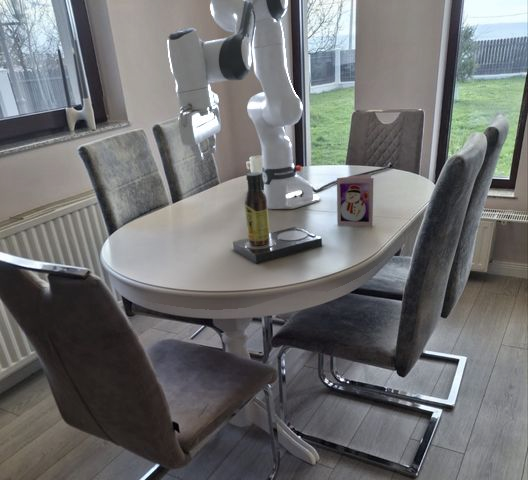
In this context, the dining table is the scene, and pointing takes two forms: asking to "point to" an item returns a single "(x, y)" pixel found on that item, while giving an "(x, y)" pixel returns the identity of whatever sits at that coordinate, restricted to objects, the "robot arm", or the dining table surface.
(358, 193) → the greeting card
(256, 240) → the sauce bottle
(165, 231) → the dining table surface
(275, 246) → the hot plate
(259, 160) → the character mug
